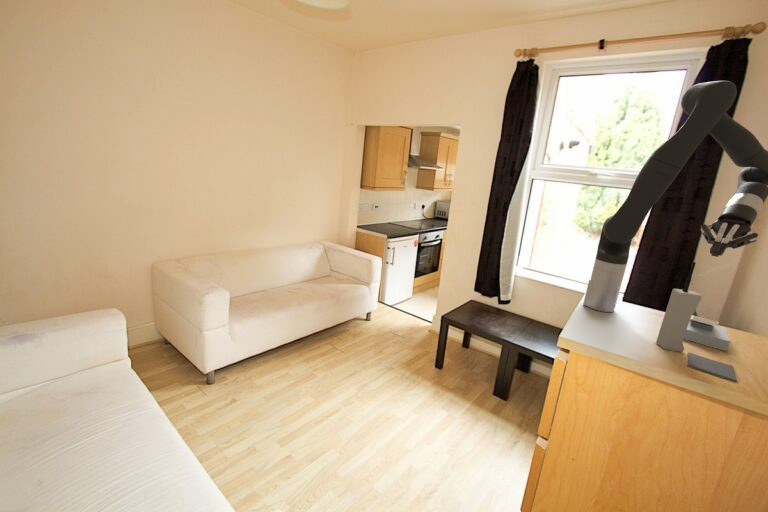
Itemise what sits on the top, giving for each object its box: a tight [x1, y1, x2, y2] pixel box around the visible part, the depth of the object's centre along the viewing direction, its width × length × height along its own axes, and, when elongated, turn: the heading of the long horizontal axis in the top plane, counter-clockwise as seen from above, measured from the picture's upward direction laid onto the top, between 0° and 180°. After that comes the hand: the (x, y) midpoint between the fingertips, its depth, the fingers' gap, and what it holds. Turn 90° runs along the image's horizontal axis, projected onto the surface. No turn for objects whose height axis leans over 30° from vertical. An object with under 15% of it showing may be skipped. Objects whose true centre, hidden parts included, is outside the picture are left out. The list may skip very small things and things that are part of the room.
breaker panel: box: [683, 319, 730, 352], centre depth 107 cm, size 12×13×4 cm
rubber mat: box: [686, 352, 738, 383], centre depth 89 cm, size 9×9×1 cm
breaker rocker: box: [690, 314, 720, 326], centre depth 107 cm, size 6×12×1 cm, turn 140°
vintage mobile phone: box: [656, 261, 703, 353], centre depth 95 cm, size 4×5×25 cm
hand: (714, 254), depth 100 cm, fingers closed
